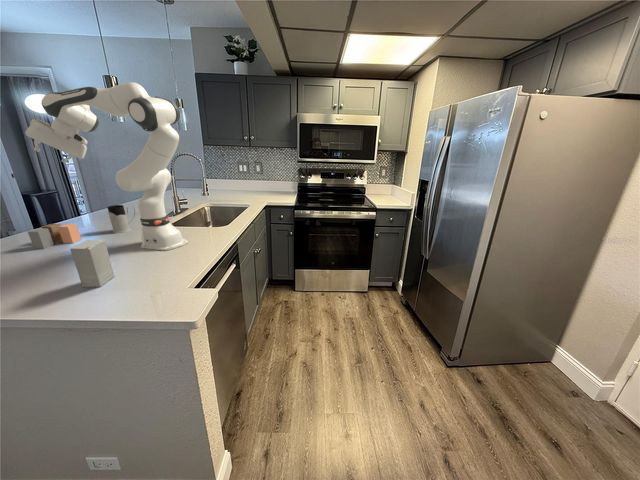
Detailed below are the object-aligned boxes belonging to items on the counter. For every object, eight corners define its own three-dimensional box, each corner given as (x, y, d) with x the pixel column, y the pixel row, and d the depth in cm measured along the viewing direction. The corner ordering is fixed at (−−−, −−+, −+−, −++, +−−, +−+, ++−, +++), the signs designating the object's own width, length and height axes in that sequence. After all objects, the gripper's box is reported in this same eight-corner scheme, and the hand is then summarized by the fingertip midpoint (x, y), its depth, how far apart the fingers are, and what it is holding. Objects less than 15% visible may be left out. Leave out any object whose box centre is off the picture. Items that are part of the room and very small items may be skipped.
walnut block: (65, 239, 139) (60, 223, 136) (56, 243, 135) (50, 226, 132) (56, 239, 139) (50, 223, 136) (47, 243, 135) (41, 226, 132)
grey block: (54, 245, 132) (48, 228, 129) (44, 248, 127) (37, 231, 124) (44, 245, 132) (38, 228, 129) (34, 248, 127) (27, 231, 124)
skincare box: (97, 277, 101) (85, 239, 95) (117, 276, 101) (106, 238, 96) (80, 288, 93) (66, 247, 87) (102, 287, 93) (89, 247, 88)
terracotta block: (81, 240, 139) (76, 224, 136) (73, 243, 135) (67, 226, 132) (72, 239, 139) (66, 224, 136) (63, 243, 135) (57, 226, 132)
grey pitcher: (109, 231, 153) (102, 207, 148) (135, 225, 165) (129, 202, 160) (117, 234, 149) (110, 208, 144) (143, 227, 161) (137, 204, 156)
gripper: (31, 114, 112) (15, 142, 111) (89, 142, 124) (76, 168, 123) (36, 117, 117) (21, 144, 116) (92, 143, 129) (79, 168, 128)
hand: (50, 156), depth 120 cm, fingers open, 8 cm apart
